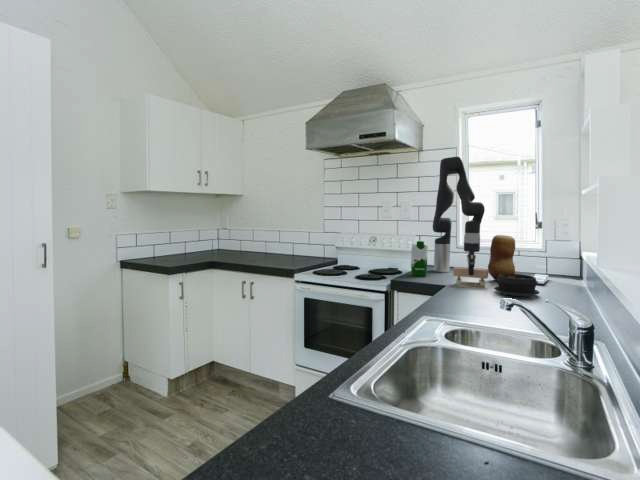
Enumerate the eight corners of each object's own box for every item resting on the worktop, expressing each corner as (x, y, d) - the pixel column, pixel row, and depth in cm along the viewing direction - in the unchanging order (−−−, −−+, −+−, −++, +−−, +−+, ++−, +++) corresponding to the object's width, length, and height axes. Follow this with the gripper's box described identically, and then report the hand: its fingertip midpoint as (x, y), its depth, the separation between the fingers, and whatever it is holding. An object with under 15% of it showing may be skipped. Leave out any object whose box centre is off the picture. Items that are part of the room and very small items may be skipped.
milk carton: (412, 276, 225) (413, 241, 224) (410, 274, 234) (411, 240, 232) (427, 277, 224) (429, 242, 223) (425, 274, 233) (426, 240, 232)
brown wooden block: (454, 274, 206) (455, 267, 206) (487, 277, 198) (488, 269, 198) (453, 275, 202) (453, 268, 202) (487, 278, 195) (487, 270, 195)
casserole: (493, 287, 196) (493, 270, 195) (535, 291, 189) (536, 273, 188) (494, 298, 172) (495, 279, 172) (543, 302, 166) (544, 282, 165)
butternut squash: (517, 284, 206) (519, 236, 204) (489, 282, 208) (492, 235, 206) (510, 279, 219) (512, 234, 217) (484, 278, 222) (486, 233, 220)
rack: (456, 282, 208) (456, 274, 207) (483, 284, 203) (483, 275, 203) (456, 286, 198) (457, 277, 198) (484, 288, 194) (485, 279, 194)
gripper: (463, 240, 207) (462, 271, 208) (464, 242, 193) (463, 275, 195) (479, 241, 205) (477, 272, 206) (480, 243, 191) (479, 276, 192)
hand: (470, 273), depth 200 cm, fingers open, 8 cm apart
